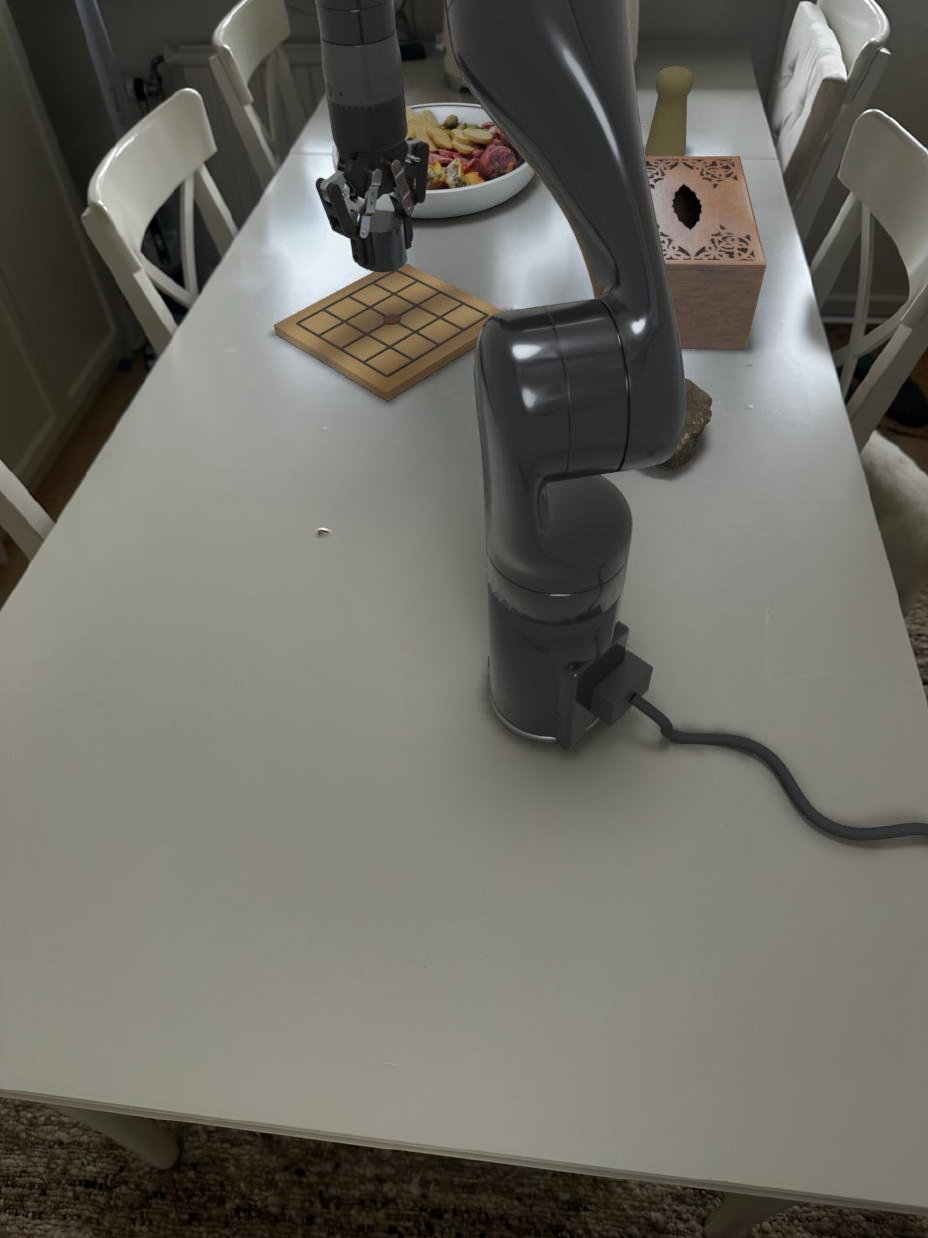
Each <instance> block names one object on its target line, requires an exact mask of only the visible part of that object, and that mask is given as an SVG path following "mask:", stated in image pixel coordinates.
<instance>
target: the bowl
mask: <svg viewBox="0 0 928 1238" xmlns="http://www.w3.org/2000/svg"><path fill="white" fill-rule="evenodd" d="M406 117H407V128H408V133H407V136H406V138H405V140H407V139H408V138H409V137H412V138H416V139H419V140H421V141H423V142H425V143H428V144H429V161H428V173H427V185H426V197H425V200H424V202H423V203H421V204H420V203H417V204H416V205H415V206H414V211H413V213H412V214H411V216H412V219H445V218H455V217H460V216H466V215H471V214H475V213H479V212H482V211H485V210H488V209H491V208H493V207H496V206H498V205H501V204H503V203H504V202H506V201H508V200H510V199H511V198H513V197H514V196H515V195H517V194H518V193H519V192H520V191H522V190H523V189H524V188H525V187H526V186H527V185H528V184H529V182H530V181H531V180H532V179H533V177H534V175H535V174H536V173H535V172H534V171H533V170H532V168H531V167H530V166H529V165H528V164H527V162H526V161H525V160H524V159H523V158H522V156H521V155H520V154H519V153H518V152H517V150H516V149H515V148H514V147H513V146H512V144H511V143H510V142H509V141H508V140H507V138H506V137H505V136H504V135H503V134H502V132H501V131H500V130H499V129H498V128H497V126H496V125H495V124H494V123H493V121H492V120H491V119H490V117H489V116H488V115H487V113H486V112H485V111H484V110H483V108H482V107H481V106H480V104H479V103H468V102H433V103H431V102H430V103H422V104H421V103H419V104H414V105H406ZM338 157H339V154H338V150H337V147H336V145H335V143H334V144H333V146H332V149H331V159H332V165H333V169H334V173H335V172H336V171H337V163H338ZM402 172H403V175H404V167H403V171H402ZM415 186H416V179H415V178H414V188H415ZM346 189H347V185H346V184H344V190H346ZM358 199H359V201H361V202H363V203H364V200H365V199H363V198H360V197H358ZM381 210H386V211H394V208H392V206H391V204H390V202H389V200H388V197H387V195H386V194H384V195H382V196H381V197H380V198H379V199H377V201H376V208H375V211H381Z"/></svg>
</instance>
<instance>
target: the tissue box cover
mask: <svg viewBox="0 0 928 1238" xmlns="http://www.w3.org/2000/svg"><path fill="white" fill-rule="evenodd" d="M645 160H646V166H647V173H648V178H649V184H650V189H651V194H652V199H653V204H654V210H655V215H656V220H657V225H658V230H659V235H660V240H661V245H662V250H663V255H664V260H665V265H666V270H667V275H668V280H669V285H670V290H671V295H672V300H673V306H674V311H675V317H676V322H677V328H678V333H679V339H680V345H681V349H703V350H704V349H705V350H706V349H708V350H709V349H710V350H711V349H712V350H747V348H748V342H749V338H750V334H751V331H752V330H751V329H752V326H753V323H754V319H755V315H756V309H757V306H758V301H759V297H760V293H761V289H762V285H763V281H764V276H765V271H766V268H767V262H766V258H765V254H764V249H763V245H762V241H761V236H760V234H759V229H758V224H757V221H756V216H755V213H754V208H753V205H752V200H751V196H750V192H749V188H748V184H747V183H748V182H747V179H746V176H745V171H744V167H743V164H742V159H741V155H708V156H707V155H690V156H687V155H684V156H648V155H646V156H645Z"/></svg>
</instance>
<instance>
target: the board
mask: <svg viewBox="0 0 928 1238" xmlns="http://www.w3.org/2000/svg"><path fill="white" fill-rule="evenodd" d="M501 312H505V310H502V309H501V308H499V307H496V306H495V305H493V304H490V303H488V302H486V301H484V300H482V299H480V298H478V297H476V296H474V295H472V294H470V293H468V292H466V291H464V290H462V289H460V288H457V287H455V286H454V285H451V284H449V283H447V282H445V281H443V280H441V279H439V278H437V277H436V276H433V275H431V274H429V273H427V272H424V271H423V270H421V269H419V268H417V267H414V266H412V265H410V264H408V263H406V264H405V265H404V266H403V267H401V268H399V269H397V270H394V271H390V272H374V271H371V272H370V273H368V274H366V275H365V276H363V277H360V278H359V279H357V280H355V281H354V282H351V283H350V284H348V285H346V286H344V287H342V288H340V289H338V290H337V291H334V292H332V293H331V294H329V295H327V296H325V297H323V298H321V299H320V300H317V301H315V302H314V303H312V304H310V305H308V306H307V307H304V308H303V309H300V310H299V311H297V312H295V313H294V314H291V315H289V316H288V317H286V318H283V319H282V320H280V321H278V322H276V323H274V324H273V328H274V332H275V333H274V334H275V335H277V336H279V337H280V338H282V339H284V340H285V341H287V342H289V343H291V344H292V345H294V346H295V347H297V348H299V349H300V350H302V351H304V352H305V353H306V354H309V355H310V356H312V357H313V358H315V359H316V360H318V361H320V362H322V363H323V364H325V365H327V366H328V367H330V368H332V369H333V370H335V371H337V372H338V373H340V374H341V375H343V376H345V377H347V378H349V379H350V380H351V381H353V382H355V383H356V384H358V385H360V386H361V387H363V388H365V389H366V390H368V391H370V392H371V393H373V394H375V395H376V396H378V397H380V398H381V399H382V400H384V401H386V402H389V401H390V400H392V399H393V398H395V397H397V396H398V395H400V394H401V393H403V392H405V391H406V390H408V389H409V388H411V387H412V386H414V385H417V383H419V382H420V381H422V380H424V379H425V378H427V377H429V376H430V375H432V374H434V373H436V372H437V371H438V370H440V369H442V368H443V367H445V366H446V365H448V364H449V363H451V362H452V361H454V360H456V359H458V358H459V357H460V356H463V355H464V354H466V353H468V352H469V351H470V350H472V349H473V348H475V347H476V341H477V337H478V335H479V332H480V329H481V327H482V326H483V324H484V322H485V321H486V320H487V319H488V318H489V317H491V316H492V315H494V314H497V313H501Z"/></svg>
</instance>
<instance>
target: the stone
mask: <svg viewBox="0 0 928 1238" xmlns="http://www.w3.org/2000/svg"><path fill="white" fill-rule="evenodd" d="M685 393H686V407H685V422H684V428H683V433H682V437H681V441H680V443H679V445H678V447H677V449H676V451H675V453H674V454H673V455H672V456H671V457H670V458H669V459H668V460H667V461H665V462H663V463H661V464H658V465H654V466H653V467H657V468H666V469H669V470H675V469H678V468H681V467H682V466H684V465H687V464H688V463H689V462H690V461H691V459H692V456H693V452H694V450H695V449H696V447H697V445H698V444H699V439H700V436H701V435H702V433H703V431H704V429H705V427H706V425H707V424H709V422H710V421H711V420H712V419H711V418H712V417H713V414H712V413H713V411H712V410H711V407H712V405H713V397H712V396H711V395H709V394H708V392H706V391H705V390H703V389H702V388H700V387H699V386H698V385H697V384H696V383H695V382H693V380H691V379H689V378H686V377H685Z"/></svg>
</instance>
